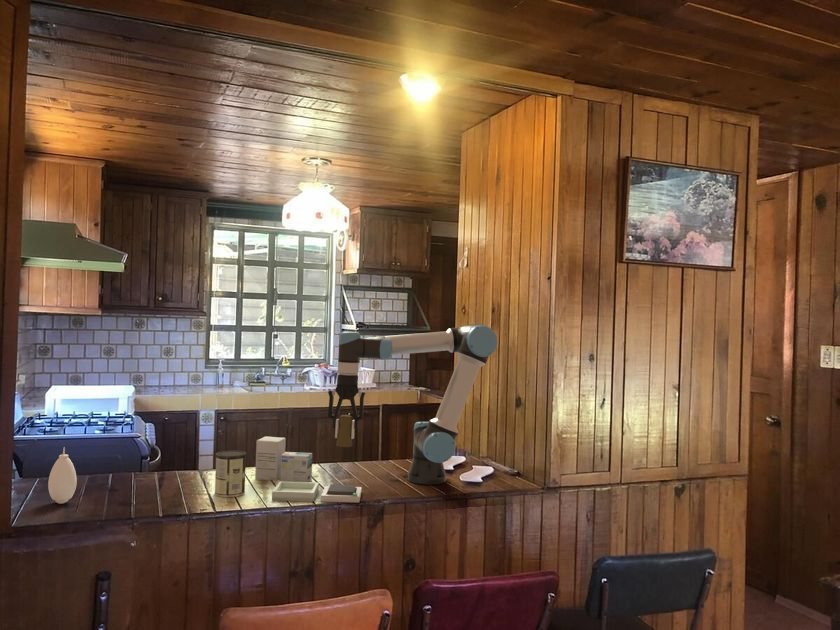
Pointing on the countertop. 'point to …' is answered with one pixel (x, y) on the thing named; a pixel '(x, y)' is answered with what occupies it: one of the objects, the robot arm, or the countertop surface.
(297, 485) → the sorting tray
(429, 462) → the robot arm
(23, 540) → the countertop surface
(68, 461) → the bulb syringe
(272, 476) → the supplement box
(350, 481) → the countertop surface
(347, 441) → the cork
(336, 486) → the dark grey square slab
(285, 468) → the light bulb box
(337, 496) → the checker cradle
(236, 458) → the coffee can
